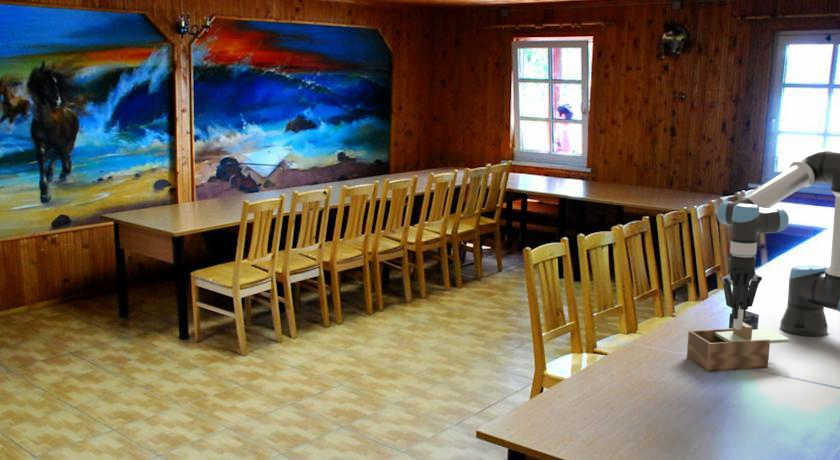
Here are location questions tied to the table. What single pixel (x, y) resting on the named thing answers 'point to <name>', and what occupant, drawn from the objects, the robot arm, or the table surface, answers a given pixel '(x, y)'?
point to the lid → (751, 335)
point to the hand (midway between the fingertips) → (737, 328)
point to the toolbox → (726, 352)
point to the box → (747, 320)
